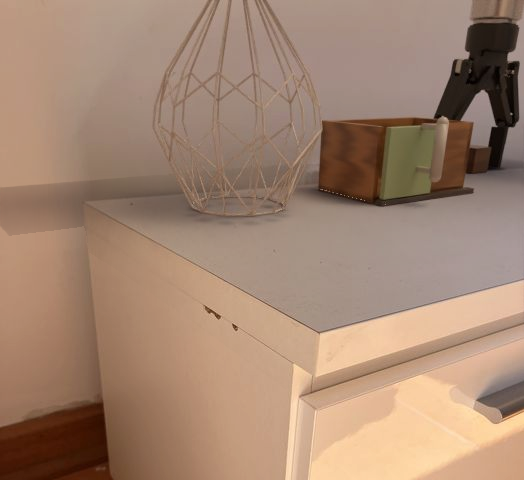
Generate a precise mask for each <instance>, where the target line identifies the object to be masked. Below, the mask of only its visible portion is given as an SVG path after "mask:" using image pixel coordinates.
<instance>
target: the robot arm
mask: <svg viewBox="0 0 524 480" xmlns="http://www.w3.org/2000/svg"><path fill="white" fill-rule="evenodd" d="M523 13H524V0H472V1H471V7H470V14H469V20H470V22H472V24H470V25H469V26H468V27H467V30H466V37H465V44H464V50H465V52H466V53H468V58H454V59H453V61H452V66H451V70H450V76H449V78H448V80H447V83H446V85H445V87H444V91H443V93H442V95H441V98H440V100H439V103H438V106H437V107H436V111H435V113H434V115H433V118H432V119H439V118H441V117H446V118H447V119H448V120H455V121H462V119H463V117H464V116H465V114H466V112H467V111H468V109H469V107H470V105H471V104H472V102H473V101H474V99H475V97H476V96H477V95H479V93H481V91H484V92H485V93H486V94H487V96H488V101H489V104H490V108H491V112H492V116H493V121H494V124H495V126H490V127H491V128H490V133H489V139H488V144H487V147H491V153H490V158H489V164H488V168H494V169H501V166H502V161H503V156H504V150H505V146H506V143H507V137H508V134H509V128H511V129H512V128H515V127H516V125H517V124H518V122H519V121H520V99H519V98H520V96H519V73H520V66H521V62H520V60H508V59H509V57H508V55H509V54H510V53H513V52H514V51H516V48H517V43H518V39H519V38H518V37H519V32H520V25H519V24H517V22H518V21H520V20H521V19H522V18H523Z"/></svg>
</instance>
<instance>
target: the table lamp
mask: <svg viewBox="0 0 524 480" xmlns="http://www.w3.org/2000/svg"><path fill="white" fill-rule="evenodd" d="M212 1H213V0H207V1H206V2H205V4H204V6H203V8H202V9H201V11H200V12H199V14H198V16H197V17H196V19H195V21H194V23H193V24H192V26H191V27H190V29H189V31H188V33H187V34H186V36H185V38H184V39H183V41H182V43H181V44H180V46H179V48H178V49H177V50H176V53H175V54H174V56H173V58H172V59H171V61H170V62H169V64H168V66H167V67H166V69H165V71H164V75H163V76H162V77H163V78H162V80H161V83H160V86H159V89H158V92H157V95H156V98H155V101H154V105H153V116H152V130H153V132H154V134H155V136H156V138H157V140H158V142H159V143H158V144H160V147H161V149H162V151H163V153H164V155H165V157H166V159H167V162H168V163H169V166H170V168H171V170H172V172H173V174H174V176H175V178H176V180H177V182H178V184H179V186H180V188H181V190H182V192H183V194H184V196H185V198H186V201H187V202H188V204H189V206H190V209H193V210H196V211H198V212H201V213H202V214H210V215H217V216H224V217H255V216H262V215H269V214H270V215H272V214H275V213H278V212H280V211H283V210H285V209H286V207H287V206H288V203H289V201H290V199H291V197H292V195H293V193H294V191H295V189H296V187H297V185H298V183H299V181H300V180H301V179H300V178H301V177H302V175H303V172H304V171H305V169H306V167H307V165H308V163H309V161H310V158H311V156H312V154H313V152H314V149H315V148H316V146H317V143H318V141H319V139H320V138H321V132H322V130H323V129H322V120H323V119H322V118H323V117H322V109H321V104H320V100H319V97H318V95H317V91H316V88H315V85H314V82H313V79H312V76H311V74H310V72H309V70H308V68H307V66H306V64H305V63H304V61H303V60H302V58H301V56H300V54H299V52H298V51H297V49H296V48H295V46H294V45H293V43H292V41H291V39H290V37H289V35H288V34H287V32H286V31H285V29H284V27H283V26H282V24H281V22H280V21H279V19H278V17H277V15H276V13H275V11H274V10H273V8H272V7H271V4H270V3H269V1H268V0H254V3H255V5H256V8H257V10H258V13H259V15H260V17H261V21H262V24H263V26H264V29H265V31H266V35H267V36H268V39H269V41H270V43H271V46H272V49H273V51H274V54H275V57H276V60H277V62H278V64H279V68H280V70H281V73H282V75H283V79H284V82H283V84H281V86H280V87H279V88H278V89H275V88H274V87H273V86H272V85H270V84H269V83H268V82H267V81H266V80H264V78H262V74H261V68H260V63H259V62H260V61H259V57H258V52H257V47H256V40H255V35H254V30H253V29H254V28H253V25H252V18H251V13H250V7H249V2H248V0H242V4H243V12H244V20H245V26H246V33H247V41H248V48H249V55H250V63H251V70H252V73H251V74H249V75H248V76H247V77H246V78H244V79H243V80H242V81H240V82H239V83H238V84H237V85H235V84H234V83H233V82H232V81H231V80H229V79H228V78H227V77H226V76H225V75H223V74H222V72H223V64H224V57H225V50H226V43H227V37H228V29H229V23H230V15H231V10H232V9H231V8H232V0H228V1H227V6H226V14H225V19H224V20H225V21H224V24H223V25H224V26H223V32H222V37H221V44H220V49H219V56H218V61H217V68H216V71H215V72H214V73H213V74H212V75H210V76H208V78H207V79H205V80H204V81H203V82H202V81H201V80H200V79H199V78H198V77H197V76H196V75H195V74H194V73H193V69H194V67H195V64H196V62H197V60H198V56H199V54H200V52H201V49H202V47H203V44H204V41H205V39H206V36H207V34H208V31H209V29H210V26H211V25H212V21H213V19H214V16H215V14H216V12H217V9H218V6H219V4H220V1H221V0H214V1H213V3H212ZM211 3H212V5H211ZM210 5H211V7H210ZM264 6H265V7H264ZM209 7H210V9H209ZM265 8H266V9H265ZM208 9H209V12H208V14H207V16H206V18H205V20H204V22H203V25H202V27H201V29H200V31H199V34H198V36H197V38H196V39H195V43H194V44H193V47H192V49H191V51H190V53H189V55H188V58H187V60H186V62H185V64H184V66H183V68H182V70H181V74H180V78H179V81H178V83H176V84H175V85H174V86H173V88H172V86H171V82H170V81H171V80H170V77H171V74H172V72H173V70H174V68H175V66H177V63H178V61H179V59H180V58H181V56H182V54H183V53H184V51H185V49H186V47H187V45H188V44H189V42H190V40H191V38H192V37H193V35H194V33H195V31H196V30H197V28H198V26H199V25H200V23H201V21H202V19H203V17H204V16H205V14H206V13H207V10H208ZM266 10H267V11H268V13H269V15H270V17H271V18H272V19H271V20H272V21H273V22H274V24H275V27H276V28H277V29H278V32H279V33H280V35H281V36H282V39H283V40H284V42H285V44H286V45H287V47H288V49H289V51H290V53H291V55H292V57H293V58H294V60H295V61H296V63H297V66H298V67H299V69H300V71H301V73H302V76H301V78H298V76H297V75H296V73H295V72H294V69H293V67H292V65H291V63H290V61H289V59H288V56H287V54H286V52H285V50H284V47H283V46H282V44H281V41H280V39H279V36H278V35H277V32H276V30H275V28H274V26H273V24H272V21H271V20H270V17H269V15H268V13H267V11H266ZM265 19H266V20H265ZM266 21H267V23H268V24H267V23H266ZM267 25H269V27H270V29H271V31H272V32H271V33H272V34H273V36H274V39H275V40H276V42H277V44H278V47H279V49H280V51H281V53H282V55H283V58H284V60H285V61H286V62H285V63H286V65H287V66H288V68H289V71H290V75H289V77H288V78H287V76H286V72H285V69H284V67H283V64H282V61H281V59H280V56H279V54H278V52H277V48H276V46H275V44H274V41H273V38H272V35H271V33H270V30H269V28H268V26H267ZM205 28H206V29H205ZM204 30H205V31H204ZM203 32H204V33H203ZM202 34H203V36H202ZM201 37H202V39H201ZM200 39H201V40H200ZM199 41H200V44H199V46H198V49H197V52H196V54H195V56H194V59H193V61H192V64H191V66H190V69H189V71H188V72H187V73H186V74H185V71H186V69H187V67H188V65H189V62H190V61H191V59H192V56H193V54H194V52H195V49H196V47H197V45H198V43H199ZM251 41H252V42H251ZM251 43H252V44H251ZM252 48H253V50H252ZM253 53H254V57H253ZM254 58H255V63H256V69H257V73H256V72H255V63H254ZM191 76H192V77H193V78H194V79H195V80H196V81H197V82H198V83H199V85H198V86H197V87H195V88H194V89H193V90H192V91H190V92H189V93H188V89H189V85H190V80H191ZM251 77H252V78H253V79H252V80H253V90H254V99H252V98H251V97H250V96H249V95H248V94H247V93H245V92H244V91H243V90H242V89H240V86H241V85H243V84H244V83H245V82H246V81H247V80H249V79H250V78H251ZM213 78H215V84H214V92H212V91H211V90H210V89H209V88H207V86H206V84H207V83H209V82H210V81H211V80H212V79H213ZM256 78H257V79H258V84H259V85H258V86H259V94H260V104H261V105H260V104H259V103H258V95H257V82H256ZM186 79H187V81H186V84H185V90H184V94H183V97H182V98H181V99H180V100H179V101H178V98H179V94H180V90H181V86H182V84H183V82H184V81H185V80H186ZM222 79H223V80H224V81H225V82H226V83H228V84H229V85H230V86H231V87H232V88H231V89H230V90H229V91H227V92H226V93H225V94H224V95H222V96H221V84H222V83H221V82H222ZM291 79H293V82H294V86H295V91H294V92H293V94H292V97H291V95H290V89H289V85H288V83H289V81H291ZM303 80H305V83H306V86H307V87H306V86H305V84H304V83H303ZM262 83H264V84H265V85H266V86H267V87H269V88H270V89H271V90H272V91H273V92H275V93H274V94H273V95H272V96H271V97H270V98H269V100H268V101H267V102H266V104H265V103H264V94H263V84H262ZM300 87H302V88H303V90H304V91H305V92H306V93H307V94H308V96H309V97H310V99H311V102H312V106H313V107H312V108H313V118H314V119H313V121H314V127H313V130H312V132H311V133H310V136H309V139H308V141H307V143H306V145H305V148H304V149H303V151H302V149H301V145H302V142H303V140H304V138H305V137H304V136H305V134H306V125H305V123H306V122H305V110H304V109H305V108H304V105H303V101H302V98H301V93H300V90H299V89H300ZM167 88H168V90H169V92H167V93H166V90H167ZM201 88H204V89H205V91H207V92H208V94H209V95H210V96H211V97H212V98H213V103H212V104H213V105H212V126H211V127H210V128H209V130H207V132H206V134H205V135H204V136H203V137H202V139H201V140H200V141H199V142H198V143H197V145H196V147H194V146H193V145H192V144H191V141H190V137H189V134H188V131H187V128H186V124H185V107H186V106H185V105H186V100H187V99H189V98H190V97H191V96H192V95H193V94H195V93H196V92H197V91H199V90H200V89H201ZM284 88H286V94H287V97H285V95H283V94H282V93H280V92H281V91H282V90H283V89H284ZM176 89H177V90H176ZM175 90H176V94H175V97H174V95H173V92H174V91H175ZM235 90H236V91H237V92H239V93H240V94H241V95H242V96H244V97H245V98H246V99H247V100H248V101H250V102H251V103H252V104H253V105H254V106H255V107H254V109H255V123H254V134H253V140H252V141H251V142H250V143H249V144H246V142H245V141H243V140H242V139H241V138H240V137H239V136H238V135H237V134H236V133H234V132H233V131H232V130H231V129H230V128H229V127H228V126H227V125H225V124H224V123H223V122H222V121H221V120H220V102H221V101H222V100H223V99H224V98H226V96H228V95H230V94H231V93H232V92H234V91H235ZM165 93H166V95H165ZM187 93H188V94H187ZM213 93H214V94H213ZM296 95H297V98H298V102H299V106H300V110H301V111H300V112H301V123H302V126H301V127H302V134H301V137H300V140H299V139H298V136H297V132H296V129H295V125H294V122H293V106H292V103H293V102H294V99H295V97H296ZM169 96H170V100H171V105H172V117H171V131H169V130H168V129H167V128H166V127H165V126H164V125H162V124H161V118H162V117H161V116H162V103H163V102H164V101H165V100H166V99H167V98H168V97H169ZM220 96H221V97H220ZM277 96H279V97H281V98H282V99H283V100H284V101H286V102H287V103H288V104H289V117H290V122H289V123H287V124H286V125H285V126H284V127H282V128H281V129H280V130H279V131H277V132H276V133H274V134H273V135H272V136H270V137H269V136H267V134H266V123H265V121H266V120H265V110H266V109H267V108H268V107H269V105H270V104H272V102H273V101H274V99H276V97H277ZM177 101H178V102H177ZM158 102H159V105H158ZM181 104H182V109H181V110H182V111H181V123H182V126H183V130H184V133H185V137H186V139H185V138H184V137H182V136H181V135H180V134H179V133H178V132H176V131H175V119H176V117H175V116H176V108H177V107H178V106H180V105H181ZM216 105H217V107H216ZM157 106H158V107H159V108H158V119H157V126H158V129H159V133H160V136H161V138H160V136H159V133H158V131H157V128H156V126H155V125H156V114H157ZM316 106H317V107H318V117H319V119H318V120H319V128H320V129H319V130H318V131H317V133H316V134H315V131H316V129H317V126H318V121H317V109H316V108H317V107H316ZM258 109H259V110H260V111H261V125H262V126H261V127H262V129H261V130H262V134H260V135H259V136H258V137H257V129H258ZM216 114H217V115H216ZM220 124H221V126H223V127H224V128H225V129H226V130H227V131H228V132H230V133H231V135H232V136H234V137H235V138H236V139H237V140H238V141H239V142H240V143H241V144H243V145H244V146H245V147H244V148H242V150H240V151H238V153H236V154H235V155H233V156H232V158H230V159H228V160H227V161H226V162H225V163H224V156H223V155H224V153H223V147H222V146H223V145H222V135H221V127H220ZM216 125H217V132H218V141H219V151H220V160H221V166H220V160H219V154H218V147H217V139H216ZM287 128H288V130H287V134H286V138H285V142H284V145H283V149H282V151H281V152H280V151H279V149H278V148H277V147H276V146H275V144H274V143H273V141H271V140H272V139H274V138H275V137H277V136H278V135H279V134H280V133H281V132H283V131H284V130H286V129H287ZM291 130H292V131H293V134H294V138H295V142H296V145H297V148H296V151H295V152H294V156H293V159H292V161H291V164H290V163H289V161H288V160H287V159H286V157H284V155H285V152H286V148H287V145H288V140H289V136H290V133H291ZM211 131H212V139H213V145H214V154H215V161H216V165H215V164H214V163H213V162H212V161H211V160H209V159H208V158H207V157H206V156H205V155H204V154H202V153H201V151H199V150H198V148H199V147H200V146H201V144H202V143H203V142H204V140H206V138H207V137H208V135H209V134H210V133H211ZM165 132H166V133H167V134H168V135H169V136H170V143H169V141H168V139H167V137H166V134H165ZM314 134H315V136H314ZM313 136H314V137H313ZM260 139H261V142H260V143H261V144H260V145H259V146H257V148H256V143H257V142H258V141H259V140H260ZM173 141H175V144H176V147H177V149H178V152H179V156H180V158H181V161H182V163H183V166H184V169H185V171H186V174H187V176H188V179H189V181H190V184H191V189H190V188H189V186H188V184H187V182H186V180H185V178H184V175H183V173H182V171H181V169H180V166H179V164H178V162H177V161H176V158H175V156H174V153H173ZM267 143H268V144H270V146H271V147H272V148H273V150H274V151H275V152H276V153H277V154H278V156H279V157H280V159H279V163H278V165H277V169H276V172H275V175H274V179H273V182H272V185H271V189H270V191H268V187H267V185H266V181H265V179H264V176H263V173H262V170H261V165H262V158H263V151H264V146H265V145H266V144H267ZM185 144H186V145H187V146H188V147H189V148H188V147H187V146H186V145H185ZM180 146H181V147H183V148H184V149H185V150H186V151H188V152H189V153H190V155H191V156H190V157H191V174H190V171H189V168H188V167H187V163H186V161H185V158H184V155H183V153H182V149H181V148H180ZM251 147H252V148H251ZM259 149H260V150H259ZM247 150H249V151H250V152H251V154H250V155H249V157H248V158H247V160H246V162H245V164H244V165H243V167H242V168H241V169H240V172H239V173H238V175H237V176H236V178H235V180H234V181H233V183H232V184H231V183H230V181H229V180H228V179H227V177H226V173H225V167H227V166H228V165H229V164H230V163H232V162H233V161H234V160H235V159H237V158H238V157H239V156H240V155H242V154H244V152H245V151H247ZM258 150H259V158H257V156H256V152H257V151H258ZM309 151H310V152H309ZM195 153H196V154H197V155H198V156H200V157H201V158H202V159H204V160H205V161H206V162H207V163H208V164H209V165H211V167H213V168H214V169H215V170H216V174H215V176H214V177H213V176H212V175H211V173H210V172H209V171H208V170H207V168H206V167H205V165H204V164H203V163H202V162H201V161H200V160H199V158H198V157H197V156H196V154H195ZM298 153H299V156H298ZM307 154H308V155H307ZM297 156H298V157H297ZM306 156H307V158H306V160H305V162H304V165H303V167H302V169H301V166H302V163H303V160H304V158H305V157H306ZM172 160H173V162H174V164H175V166H176V167H175V166H174V164H173V163H172ZM250 160H251V165H250V173H249V182H248V183H249V184H248V193H247V195H251V189H252V181H253V179H252V178H253V171H254V170H253V169H254V162H255V164H256V166H257V171H256V178H255V184H254V189H253V190H254V191H253V195H251V196H239V195H240V194H239V193H238V192H237V191H236V190H235V188H234V186H235V185H236V183H237V181H238V180H239V178H240V177H241V175H242V173H243V172H244V170H245V169H246V167H247V166H248V163H249V162H250ZM254 160H255V161H254ZM282 161H284V163H285V164H286V165H287V166H288V167H289V168H288V169H287V170H286V171H285V172H284V174H283V175H282V176H281V177H280V178H279V180H278V181H277V177H278V174H279V171H280V168H281V165H282ZM198 164H199V165H200V167H201V168H202V169H203V170H204V171H205V172H206V175H208V176H209V178H210V180H212V181H213V182H212V185H211V187H210V190H209V192H208V196H207V193H206V189H205V187H204V183H203V180H202V177H201V173H200V170H199V167H198ZM194 167H195V169H196V170H195V171H196V173H197V176H198V180H199V182H200V185H201V188H202V193H203V196H204V197H202V198H200V196H199V194H198V191H197V189H196V187H195V180H194V179H195V176H194V175H195V173H194V172H195V171H194ZM300 169H301V171H300ZM221 170H222V171H221ZM294 171H295V172H294ZM299 171H300V173H299ZM293 172H294V174H293V176H292V173H293ZM298 174H299V175H298ZM291 176H292V178H291ZM222 178H223V181H222ZM260 178H261V181H262V184H263V187H264V190H265V193H266V196H264V197H265V198H261V197H262V196H259V197H256V196H257V191H258V184H259V179H260ZM217 179H218V181H219V183H218V182H217ZM276 181H277V183H276ZM275 183H276V184H275ZM215 185H216V186H217V188H218V189H219V190H220V193H221V196H222V197H214V196H215V195H214V196H211V195H212V192H213V189H214V187H215ZM227 185H228V186H229V190H228V189H227ZM223 186H224V187H223ZM285 187H286V192H285V194H284V196H283V199H282V201H281V197H282V195H283V193H284V190H285ZM223 188H224V190H223ZM280 188H281V189H280ZM279 189H280V192H279V195H278V197H277V199H275V198H273V197H274V195H275V194H276V193H277V192H278V190H279ZM231 192H233V193H234V195H236V196H224V195H230V193H231ZM252 196H254V197H252ZM207 197H208V198H207ZM210 197H213V198H210ZM204 198H206V199H204ZM220 198H221V200H222V207H223V212H216V211H215V212H214V211H208V210H206V209H207V207H208V203H209V201H210V200H211V199H220ZM225 198H238V200H239V201H240V203H241V204H242V205H243V206H244V208H245V209H246V211H247V212H248V213H227V209H226V202H225ZM242 198H252V204H251V210H250V209H249V207H248V206H247V205H246V204H245V202H244V200H243V199H242ZM269 198H271V199H269ZM201 199H202V200H201ZM256 199H261V200H262V201H261V202H260V203H258V205H257V207H255V204H256ZM272 199H274V200H272ZM205 200H206V201H205ZM266 200H270V201H272V202H275V206H274V208H273V209H272V211H265V212H257V211H258V210H259V209H260V207H262V205H263V204H264V203H265V201H266ZM275 200H277V201H275ZM194 201H195V202H194ZM203 201H205V203H204V206H203V204H202V202H203ZM279 201H281V202H279ZM283 202H284V204H283ZM192 203H193V204H194V205H193V204H192ZM195 204H196V205H197V206H198V207H195ZM279 204H281V206H282V207H279V208H278V209H277V207H278V205H279ZM282 204H283V205H282ZM284 207H285V208H284ZM282 208H283V209H282Z"/></svg>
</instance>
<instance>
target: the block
mask: <svg viewBox="0 0 524 480" xmlns="http://www.w3.org/2000/svg"><path fill="white" fill-rule="evenodd" d="M490 153H491V147H488V145H486V146H485V145H477V144H470V149H469V155H468V161H467V167H466V173H465V174H471V175H473V174H481V173H487V172H488V168H489V167H488V164H489V158H490Z"/></svg>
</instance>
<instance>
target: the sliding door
mask: <svg viewBox="0 0 524 480" xmlns="http://www.w3.org/2000/svg"><path fill="white" fill-rule="evenodd" d="M448 126H449V120H448V119H447V118H446V117H444V116H442V117H441V118H439V119H438V120H437V123H436V124H427V123H422V125H421V126H400V127H387V129H386V139H385V148H384V158H383V168H382V178H381V187H380V197H379V199H382V200H386V199H393V198H400V197H407V196H414V195H422V194H429V193H430V188H431V181H432V182H438V181H439V180H440V179H441V174H442V167H443V161H444V154H445V147H446V140H447V133H448Z"/></svg>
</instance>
